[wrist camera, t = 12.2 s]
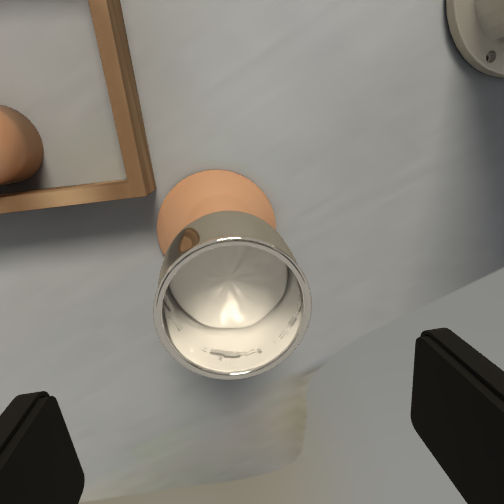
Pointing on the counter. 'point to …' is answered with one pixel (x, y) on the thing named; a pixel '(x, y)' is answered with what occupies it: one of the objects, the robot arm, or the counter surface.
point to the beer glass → (230, 293)
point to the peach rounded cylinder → (18, 147)
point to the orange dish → (201, 187)
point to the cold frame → (126, 120)
